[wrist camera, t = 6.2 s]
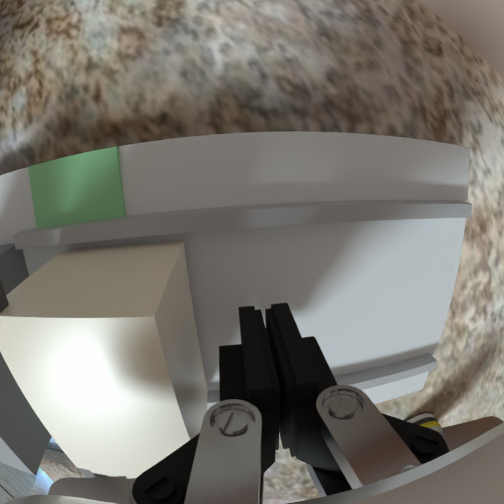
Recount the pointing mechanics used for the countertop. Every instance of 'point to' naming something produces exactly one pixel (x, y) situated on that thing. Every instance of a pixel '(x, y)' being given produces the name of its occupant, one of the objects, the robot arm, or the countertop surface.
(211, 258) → the board
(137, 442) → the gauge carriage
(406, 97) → the countertop surface
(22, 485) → the supplement box
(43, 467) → the washcloth
